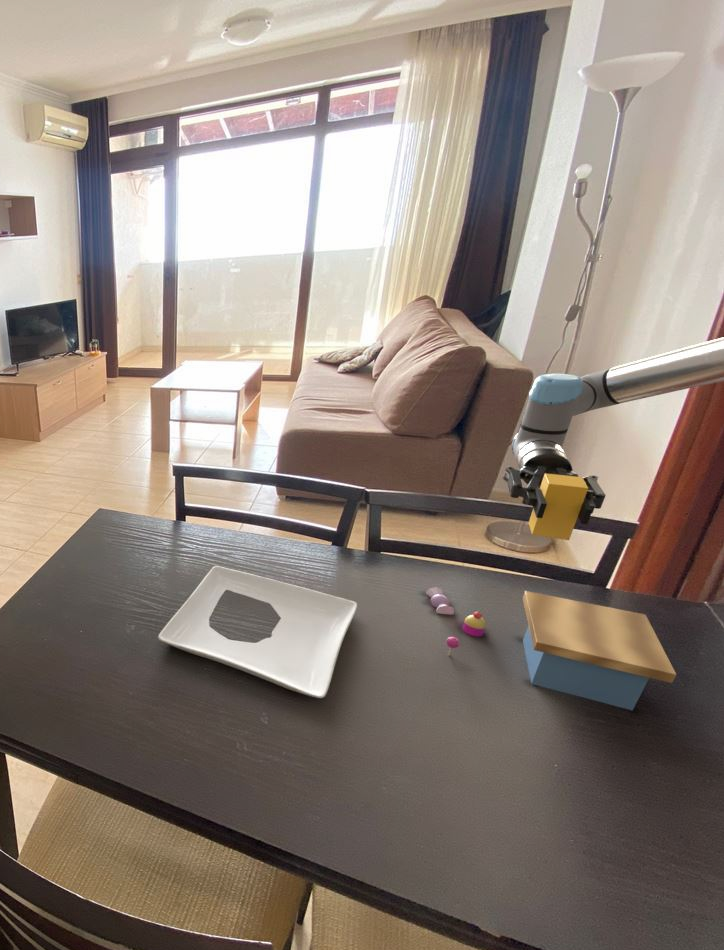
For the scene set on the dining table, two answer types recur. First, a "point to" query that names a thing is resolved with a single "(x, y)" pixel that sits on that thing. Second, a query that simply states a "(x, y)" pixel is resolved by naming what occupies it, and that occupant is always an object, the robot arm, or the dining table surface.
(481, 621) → the candy
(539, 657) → the blue box
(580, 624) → the birch board
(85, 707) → the dining table surface
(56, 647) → the dining table surface
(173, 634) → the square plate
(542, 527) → the yellow block
